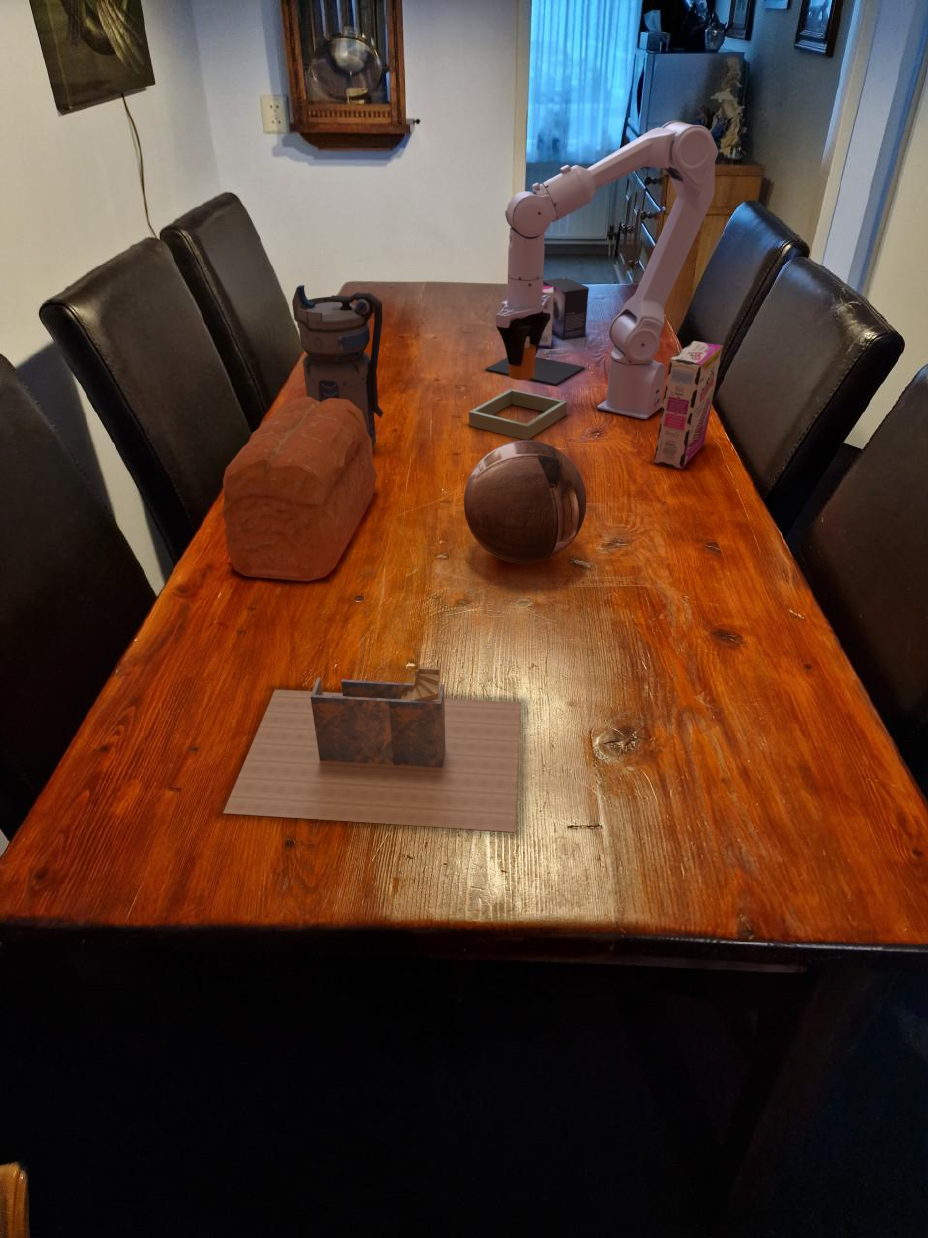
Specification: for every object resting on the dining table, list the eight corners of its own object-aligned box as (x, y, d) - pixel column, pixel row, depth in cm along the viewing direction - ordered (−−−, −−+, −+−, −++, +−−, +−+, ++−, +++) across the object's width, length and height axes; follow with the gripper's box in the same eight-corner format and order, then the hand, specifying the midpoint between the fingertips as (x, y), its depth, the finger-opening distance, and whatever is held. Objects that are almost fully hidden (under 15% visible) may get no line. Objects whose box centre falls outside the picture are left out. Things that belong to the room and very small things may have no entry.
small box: (537, 327, 188) (540, 279, 182) (562, 324, 190) (565, 276, 184) (561, 339, 180) (564, 290, 174) (586, 336, 182) (590, 286, 176)
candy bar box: (683, 471, 125) (701, 364, 115) (652, 464, 127) (667, 358, 118) (706, 445, 133) (724, 343, 123) (676, 439, 135) (692, 338, 125)
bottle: (539, 374, 141) (540, 336, 137) (526, 381, 138) (527, 343, 134) (517, 370, 143) (518, 332, 139) (504, 377, 140) (505, 338, 136)
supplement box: (551, 340, 180) (554, 285, 173) (550, 348, 175) (554, 292, 168) (524, 339, 180) (527, 285, 174) (523, 347, 175) (526, 291, 169)
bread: (222, 576, 101) (198, 463, 92) (292, 482, 122) (278, 383, 113) (331, 585, 99) (318, 471, 90) (383, 488, 120) (376, 388, 112)
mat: (584, 368, 164) (584, 366, 164) (555, 385, 156) (555, 383, 156) (516, 354, 172) (516, 352, 171) (485, 370, 163) (485, 368, 163)
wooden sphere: (447, 538, 108) (446, 431, 99) (550, 519, 112) (557, 414, 104) (490, 597, 97) (492, 481, 88) (602, 573, 101) (615, 461, 92)
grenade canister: (382, 466, 127) (370, 298, 112) (300, 460, 129) (279, 294, 114) (397, 440, 135) (389, 280, 120) (320, 435, 137) (303, 277, 122)
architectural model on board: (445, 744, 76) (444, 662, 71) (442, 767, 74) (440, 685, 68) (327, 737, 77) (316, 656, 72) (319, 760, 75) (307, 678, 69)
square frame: (566, 414, 144) (567, 401, 142) (527, 440, 135) (527, 426, 133) (510, 401, 149) (510, 388, 148) (468, 425, 140) (468, 411, 138)
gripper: (526, 264, 138) (523, 345, 146) (480, 282, 128) (479, 368, 136) (563, 269, 135) (558, 352, 143) (518, 288, 125) (516, 375, 133)
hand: (522, 360), depth 139 cm, fingers closed on bottle, 4 cm apart
